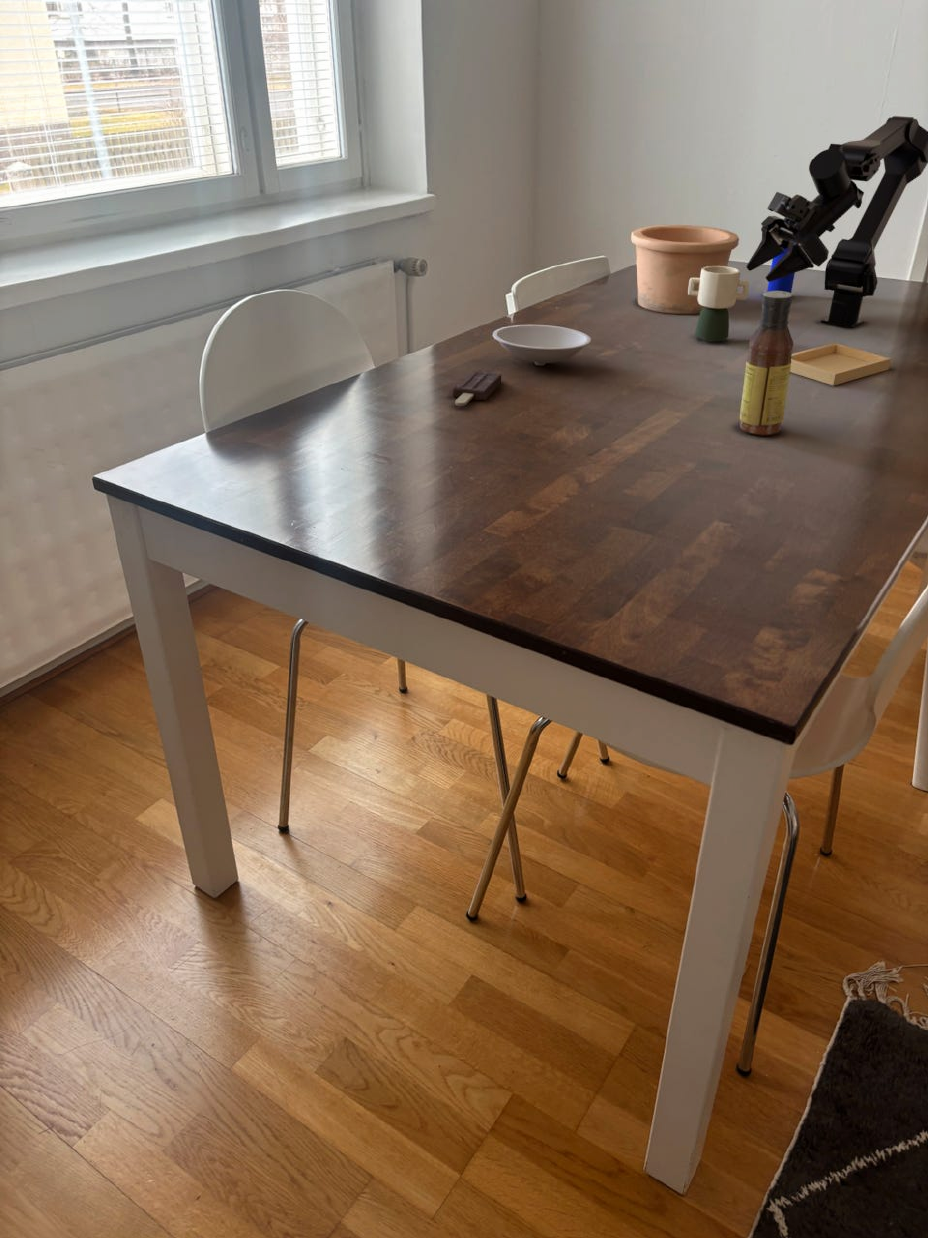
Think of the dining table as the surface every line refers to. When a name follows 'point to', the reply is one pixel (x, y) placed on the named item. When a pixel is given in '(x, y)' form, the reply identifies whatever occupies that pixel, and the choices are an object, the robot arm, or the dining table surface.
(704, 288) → the character mug
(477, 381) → the ice cream bar
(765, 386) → the sauce bottle
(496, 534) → the dining table surface
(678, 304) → the pottery
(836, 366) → the mug tray
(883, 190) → the robot arm
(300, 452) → the dining table surface
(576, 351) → the dish
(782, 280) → the beverage can
